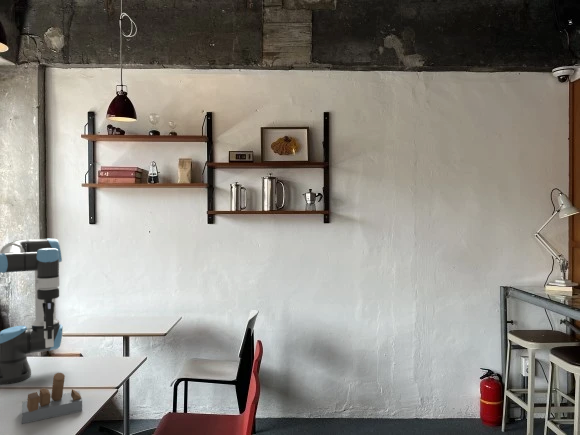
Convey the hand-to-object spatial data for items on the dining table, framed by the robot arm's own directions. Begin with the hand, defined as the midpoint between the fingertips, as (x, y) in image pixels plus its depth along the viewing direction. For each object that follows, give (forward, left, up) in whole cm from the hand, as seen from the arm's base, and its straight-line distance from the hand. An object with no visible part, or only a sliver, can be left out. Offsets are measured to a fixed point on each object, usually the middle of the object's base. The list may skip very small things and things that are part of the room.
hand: (48, 342), depth 170 cm
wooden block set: (+4, +1, -23) cm, 23 cm away
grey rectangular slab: (+2, +1, -27) cm, 27 cm away
